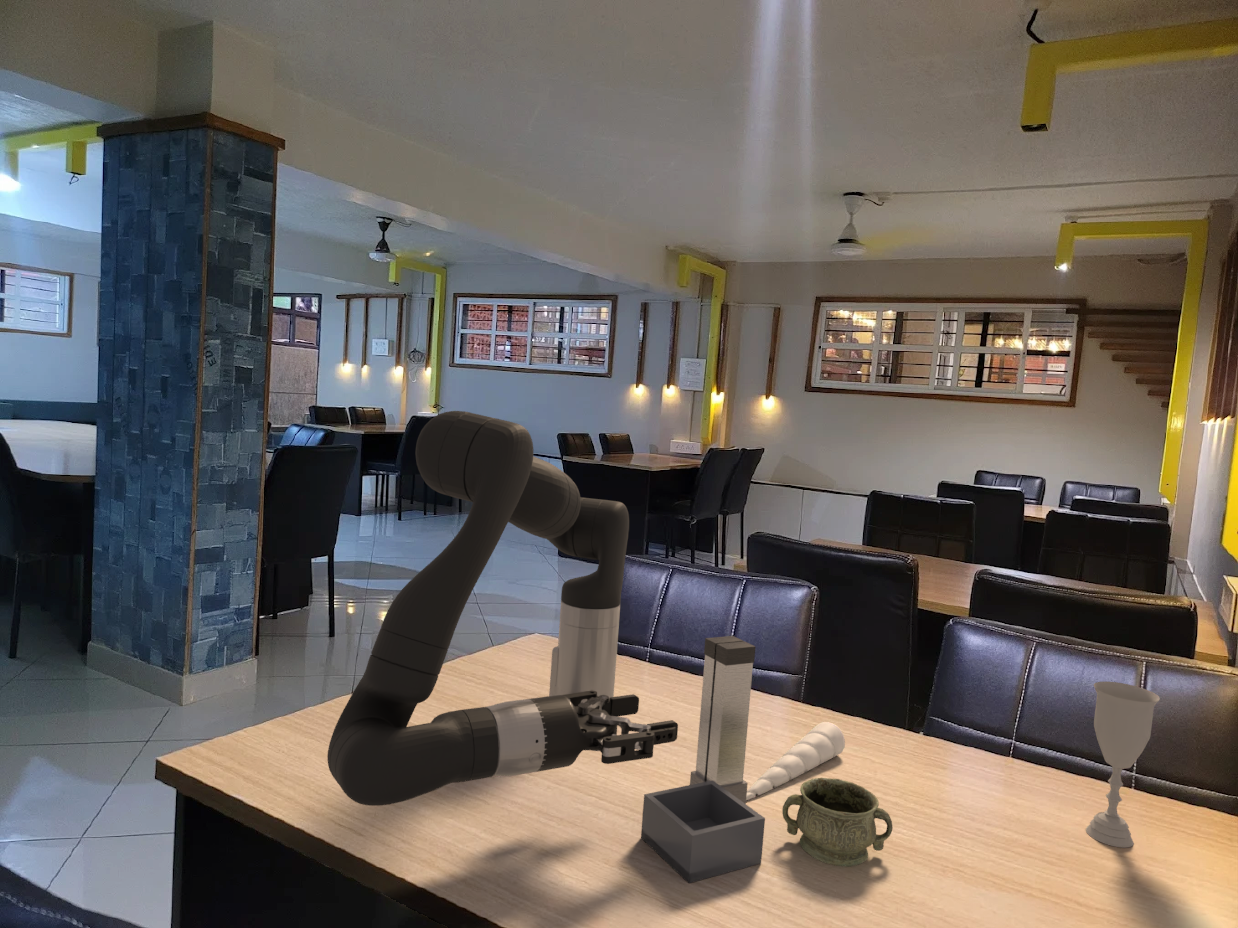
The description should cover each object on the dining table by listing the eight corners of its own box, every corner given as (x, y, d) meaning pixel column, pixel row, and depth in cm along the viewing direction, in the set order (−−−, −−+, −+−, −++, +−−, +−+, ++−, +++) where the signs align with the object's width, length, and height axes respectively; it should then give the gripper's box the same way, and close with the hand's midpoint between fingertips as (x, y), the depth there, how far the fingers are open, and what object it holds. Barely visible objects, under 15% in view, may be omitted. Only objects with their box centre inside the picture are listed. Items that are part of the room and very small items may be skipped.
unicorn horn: (716, 793, 103) (719, 756, 103) (816, 747, 120) (819, 716, 120) (746, 808, 100) (750, 770, 100) (845, 759, 117) (848, 726, 117)
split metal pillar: (711, 813, 97) (725, 649, 96) (689, 794, 102) (701, 637, 100) (745, 806, 100) (759, 646, 98) (721, 788, 104) (734, 635, 103)
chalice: (1142, 858, 94) (1161, 706, 93) (1075, 838, 98) (1092, 692, 96) (1142, 833, 100) (1158, 690, 99) (1078, 815, 104) (1094, 677, 103)
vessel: (779, 859, 89) (784, 803, 88) (780, 820, 97) (784, 769, 97) (894, 879, 86) (900, 822, 86) (885, 837, 95) (890, 785, 94)
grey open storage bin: (688, 883, 83) (692, 835, 82) (640, 837, 91) (644, 794, 90) (761, 863, 87) (765, 818, 87) (709, 821, 95) (712, 780, 95)
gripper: (558, 726, 81) (693, 706, 89) (504, 679, 93) (627, 665, 101) (553, 799, 81) (687, 773, 89) (500, 743, 93) (623, 724, 101)
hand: (655, 716), depth 95 cm, fingers open, 8 cm apart
